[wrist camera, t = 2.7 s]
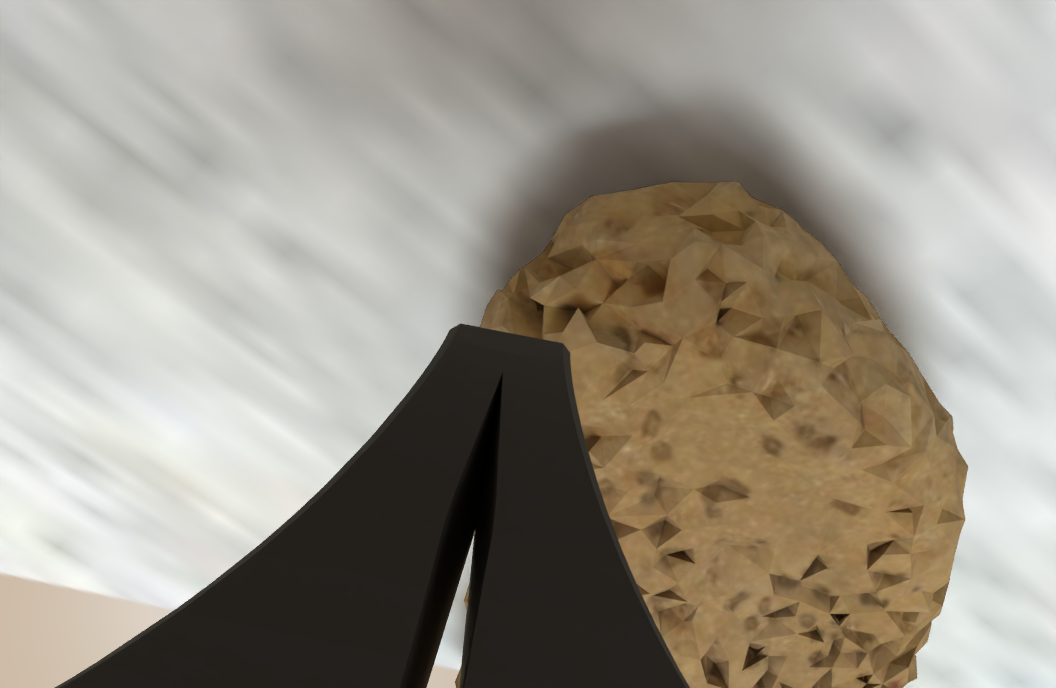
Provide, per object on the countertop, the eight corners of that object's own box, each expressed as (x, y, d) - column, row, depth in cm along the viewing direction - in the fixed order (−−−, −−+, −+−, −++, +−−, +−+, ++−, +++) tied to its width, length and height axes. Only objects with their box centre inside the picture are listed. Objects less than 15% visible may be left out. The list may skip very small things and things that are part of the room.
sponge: (749, 689, 33) (1246, 365, 18) (697, 934, 28) (1332, 779, 13) (411, 519, 33) (611, 50, 18) (298, 731, 28) (440, 332, 13)
